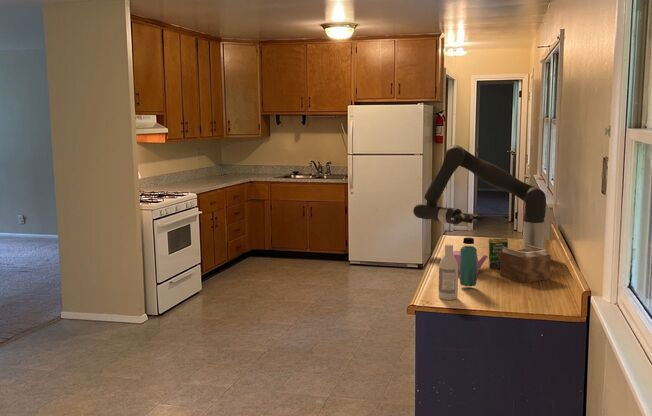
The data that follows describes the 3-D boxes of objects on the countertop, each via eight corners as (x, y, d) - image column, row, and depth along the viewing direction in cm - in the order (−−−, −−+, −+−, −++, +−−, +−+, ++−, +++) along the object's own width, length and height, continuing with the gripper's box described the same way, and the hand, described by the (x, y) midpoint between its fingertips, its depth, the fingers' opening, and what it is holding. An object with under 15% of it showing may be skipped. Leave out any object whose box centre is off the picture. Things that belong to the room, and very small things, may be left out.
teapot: (486, 270, 278) (486, 247, 277) (487, 276, 268) (488, 252, 267) (444, 269, 281) (444, 246, 280) (444, 274, 271) (444, 251, 270)
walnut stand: (525, 271, 275) (526, 244, 274) (549, 278, 263) (550, 250, 261) (499, 275, 269) (500, 247, 268) (522, 282, 257) (524, 253, 255)
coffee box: (488, 268, 282) (489, 239, 280) (488, 266, 285) (488, 238, 283) (507, 268, 281) (508, 239, 279) (506, 267, 283) (507, 238, 282)
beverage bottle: (476, 290, 245) (478, 239, 243) (459, 289, 247) (460, 239, 244) (476, 286, 252) (477, 236, 249) (459, 285, 253) (460, 236, 250)
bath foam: (444, 294, 241) (445, 242, 238) (460, 297, 236) (462, 244, 233) (434, 298, 235) (435, 245, 233) (451, 301, 231) (452, 247, 228)
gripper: (440, 209, 296) (468, 213, 283) (459, 206, 305) (488, 210, 292) (439, 225, 297) (468, 229, 284) (459, 222, 306) (487, 226, 293)
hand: (478, 219), depth 288 cm, fingers open, 8 cm apart
